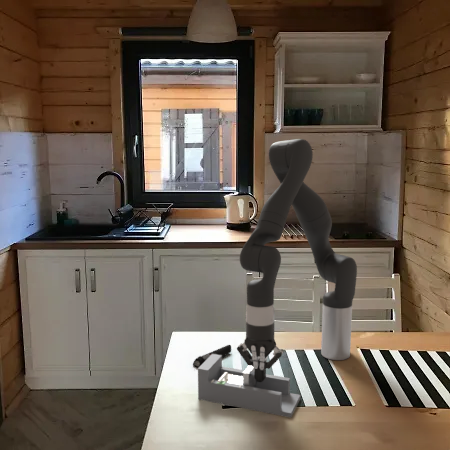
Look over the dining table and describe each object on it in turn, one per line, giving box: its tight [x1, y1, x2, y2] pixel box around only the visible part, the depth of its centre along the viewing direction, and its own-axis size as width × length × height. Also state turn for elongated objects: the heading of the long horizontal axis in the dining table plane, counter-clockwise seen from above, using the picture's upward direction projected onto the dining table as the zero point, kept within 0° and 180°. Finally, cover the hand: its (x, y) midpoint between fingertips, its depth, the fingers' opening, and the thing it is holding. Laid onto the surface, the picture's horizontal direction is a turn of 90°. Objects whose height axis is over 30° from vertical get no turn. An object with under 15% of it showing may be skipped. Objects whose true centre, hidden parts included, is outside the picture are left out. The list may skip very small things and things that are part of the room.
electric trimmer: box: [192, 344, 232, 369], centre depth 171 cm, size 4×16×3 cm, turn 137°
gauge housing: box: [197, 354, 301, 418], centre depth 146 cm, size 10×26×9 cm, turn 69°
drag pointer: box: [218, 372, 233, 383], centre depth 147 cm, size 8×2×5 cm, turn 159°
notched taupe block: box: [227, 365, 256, 387], centre depth 146 cm, size 6×7×8 cm
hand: (260, 380), depth 144 cm, fingers closed
